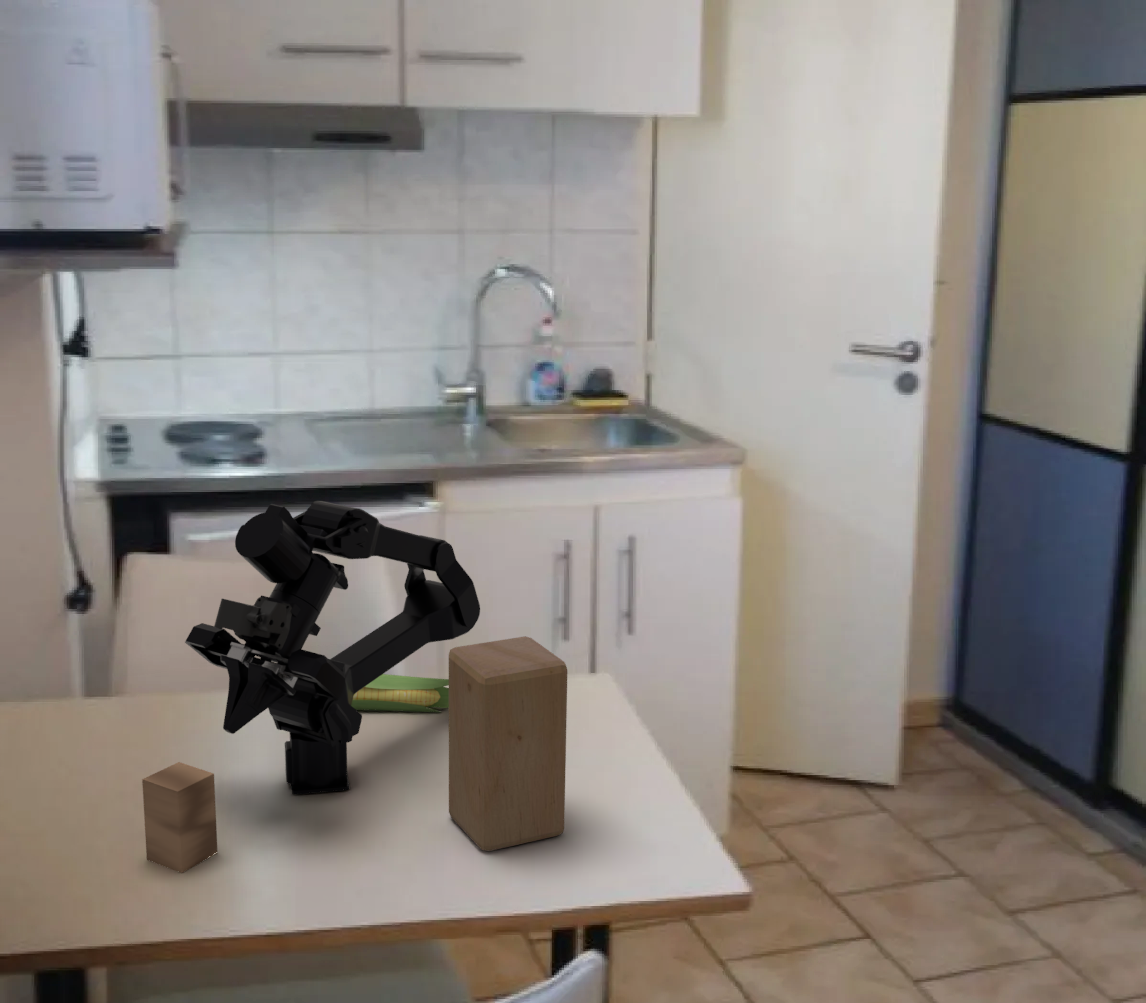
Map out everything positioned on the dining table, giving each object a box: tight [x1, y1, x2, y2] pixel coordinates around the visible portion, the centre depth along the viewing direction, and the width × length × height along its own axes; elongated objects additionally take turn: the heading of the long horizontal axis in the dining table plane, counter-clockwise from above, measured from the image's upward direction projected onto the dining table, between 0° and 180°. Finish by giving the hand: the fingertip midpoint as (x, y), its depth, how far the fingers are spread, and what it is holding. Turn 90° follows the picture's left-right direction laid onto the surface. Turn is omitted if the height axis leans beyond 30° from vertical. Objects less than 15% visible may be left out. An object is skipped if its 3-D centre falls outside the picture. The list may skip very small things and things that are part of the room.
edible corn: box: [351, 673, 449, 714], centre depth 191 cm, size 5×20×5 cm
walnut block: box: [141, 761, 218, 874], centre depth 151 cm, size 5×5×9 cm
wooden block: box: [448, 636, 568, 852], centre depth 158 cm, size 10×10×20 cm
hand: (227, 731), depth 156 cm, fingers closed
